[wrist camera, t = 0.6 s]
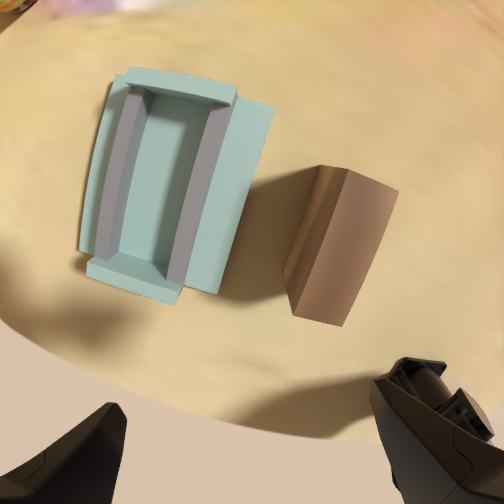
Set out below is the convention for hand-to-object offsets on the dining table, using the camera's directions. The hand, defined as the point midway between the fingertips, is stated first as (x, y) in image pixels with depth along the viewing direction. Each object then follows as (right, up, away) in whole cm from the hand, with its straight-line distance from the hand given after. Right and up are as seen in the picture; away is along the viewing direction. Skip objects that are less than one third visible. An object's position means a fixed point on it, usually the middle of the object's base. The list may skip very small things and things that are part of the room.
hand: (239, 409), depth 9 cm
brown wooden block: (+5, +7, +11) cm, 14 cm away
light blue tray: (-5, +10, +10) cm, 15 cm away
